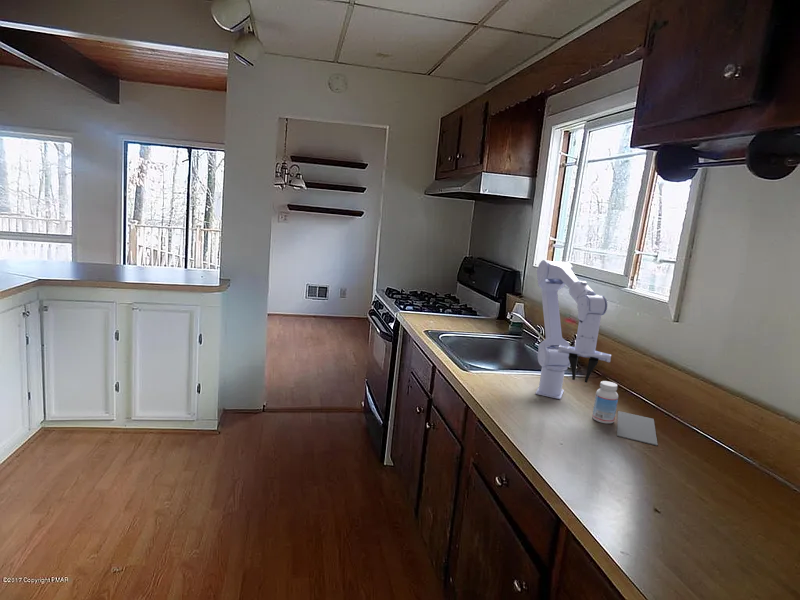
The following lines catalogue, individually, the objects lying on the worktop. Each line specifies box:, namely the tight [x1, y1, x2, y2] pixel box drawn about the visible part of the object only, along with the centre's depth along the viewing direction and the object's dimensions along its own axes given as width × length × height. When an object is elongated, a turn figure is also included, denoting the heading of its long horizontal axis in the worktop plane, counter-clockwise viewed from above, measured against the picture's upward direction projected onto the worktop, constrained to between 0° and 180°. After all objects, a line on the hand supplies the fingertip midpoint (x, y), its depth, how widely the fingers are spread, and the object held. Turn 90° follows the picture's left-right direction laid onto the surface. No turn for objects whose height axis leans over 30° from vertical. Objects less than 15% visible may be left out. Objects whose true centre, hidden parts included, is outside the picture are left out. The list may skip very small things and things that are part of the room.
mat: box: [616, 410, 659, 447], centre depth 147 cm, size 20×10×1 cm, turn 157°
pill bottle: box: [591, 380, 619, 424], centre depth 149 cm, size 6×6×11 cm
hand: (579, 380), depth 151 cm, fingers open, 3 cm apart
